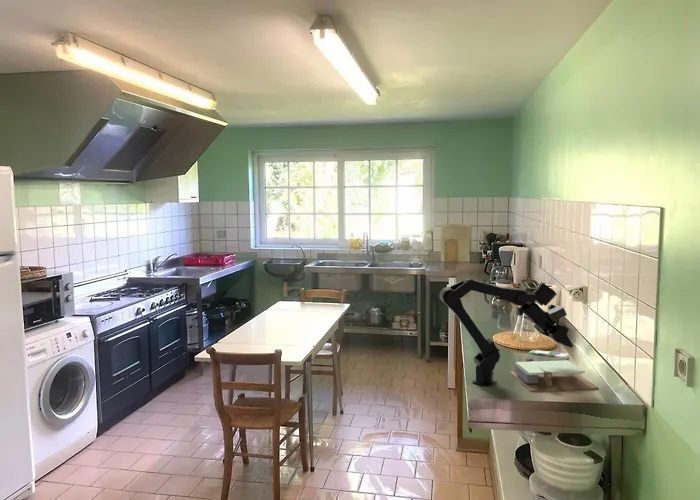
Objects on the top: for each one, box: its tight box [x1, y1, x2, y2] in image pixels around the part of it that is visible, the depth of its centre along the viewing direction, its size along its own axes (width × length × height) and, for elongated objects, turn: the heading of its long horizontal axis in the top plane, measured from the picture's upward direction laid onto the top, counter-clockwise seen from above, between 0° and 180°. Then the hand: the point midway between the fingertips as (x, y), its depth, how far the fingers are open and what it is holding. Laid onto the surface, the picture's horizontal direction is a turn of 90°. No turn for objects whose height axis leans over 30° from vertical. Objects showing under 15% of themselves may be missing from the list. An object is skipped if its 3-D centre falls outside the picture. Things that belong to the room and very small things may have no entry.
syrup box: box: [527, 349, 571, 362], centre depth 215 cm, size 6×6×14 cm
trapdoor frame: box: [509, 357, 600, 393], centre depth 198 cm, size 24×22×6 cm
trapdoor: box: [514, 360, 586, 384], centre depth 198 cm, size 20×14×4 cm
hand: (566, 343), depth 198 cm, fingers open, 9 cm apart
